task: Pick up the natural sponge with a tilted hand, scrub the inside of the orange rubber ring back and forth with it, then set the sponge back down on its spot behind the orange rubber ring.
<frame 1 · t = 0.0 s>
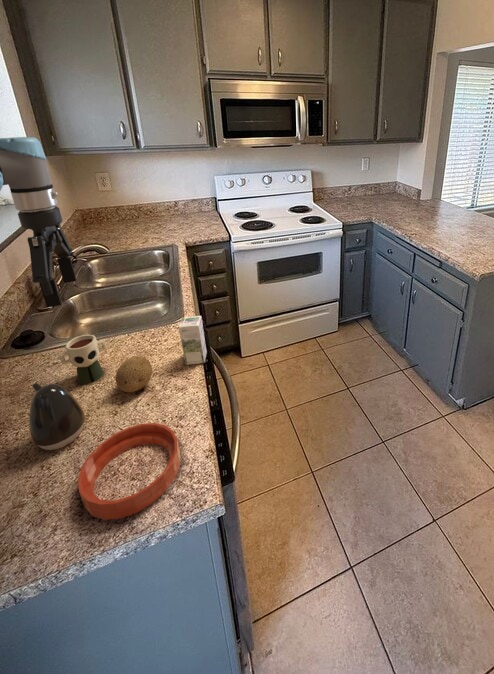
hand: (63, 292, 87), 31 cm above the counter, tool pointing down, fingers open, 13 cm apart
natural sponge: (137, 390, 99), on the counter
orange rubber ring: (135, 476, 75), on the counter
syrup box: (196, 361, 111), on the counter
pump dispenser: (63, 439, 85), on the counter
character mug: (91, 379, 104), on the counter
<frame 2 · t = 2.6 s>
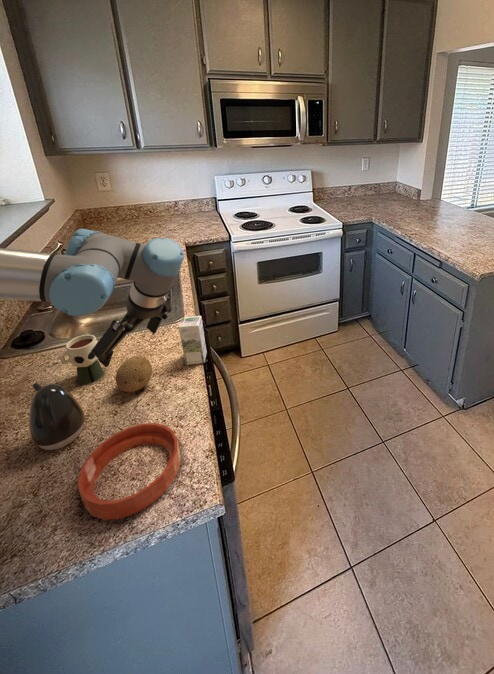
hand: (128, 345, 90), 18 cm above the counter, tool tilted 35°, fingers open, 13 cm apart
nothing on the counter moved.
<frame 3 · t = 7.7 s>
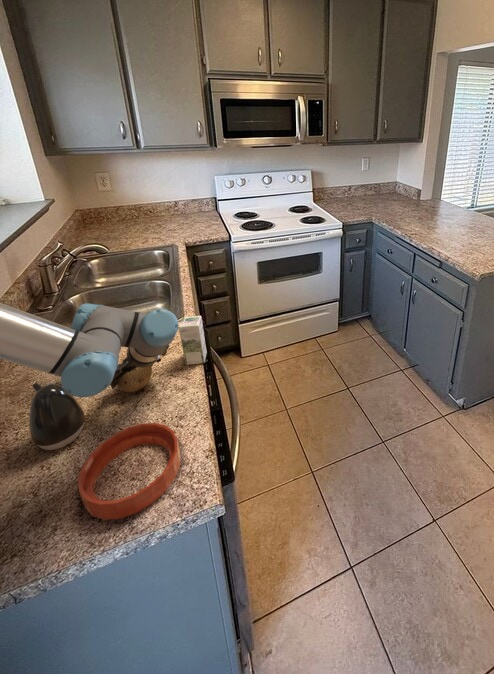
hand: (129, 374, 100), 4 cm above the counter, tool tilted 45°, fingers closed on natural sponge, 9 cm apart
natural sponge: (137, 390, 99), on the counter, touching gripper
everything else where it was.
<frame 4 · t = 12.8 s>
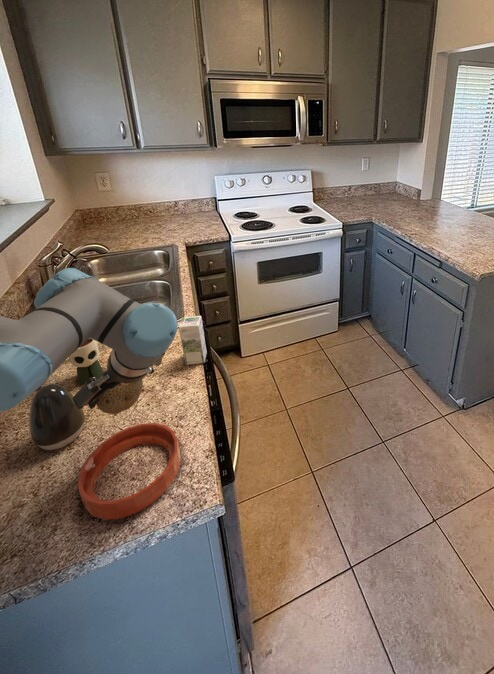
hand: (114, 389, 78), 16 cm above the counter, tool tilted 45°, fingers closed on natural sponge, 9 cm apart
natural sponge: (124, 410, 77), point 12 cm above the counter, touching gripper
everything else where it was.
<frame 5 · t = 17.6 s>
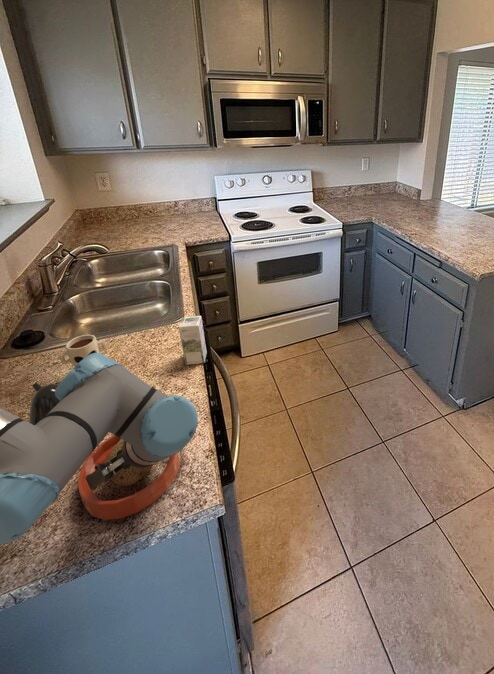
hand: (127, 457, 75), 4 cm above the counter, tool tilted 45°, fingers closed on natural sponge, 9 cm apart
natural sponge: (133, 471, 75), point 1 cm above the counter, touching orange rubber ring, gripper
everything else where it was.
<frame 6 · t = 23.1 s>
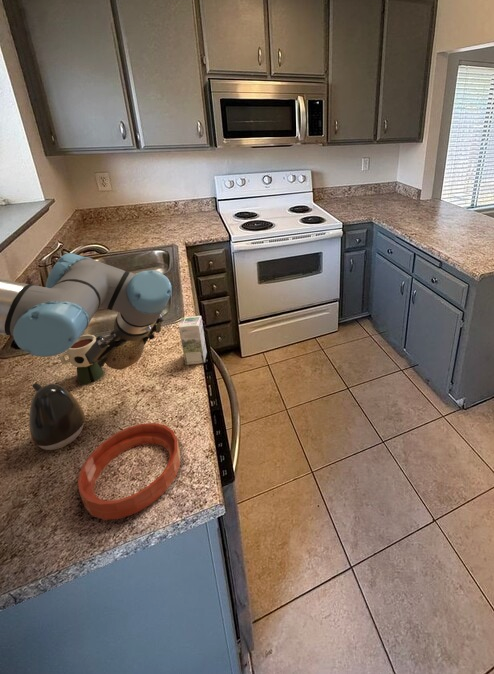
hand: (120, 352, 90), 16 cm above the counter, tool tilted 45°, fingers closed on natural sponge, 9 cm apart
natural sponge: (126, 366, 90), point 12 cm above the counter, touching gripper
everything else where it was.
when the fingers open (3 cm above the counter, at t = 27.9 s): natural sponge stays where it is, on the counter.
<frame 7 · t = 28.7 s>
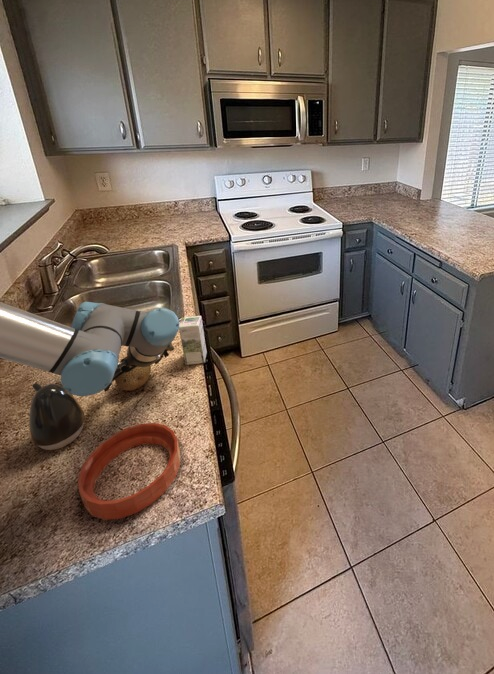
hand: (130, 372, 99), 5 cm above the counter, tool tilted 45°, fingers open, 13 cm apart
natural sponge: (136, 389, 100), on the counter
everything else where it was.
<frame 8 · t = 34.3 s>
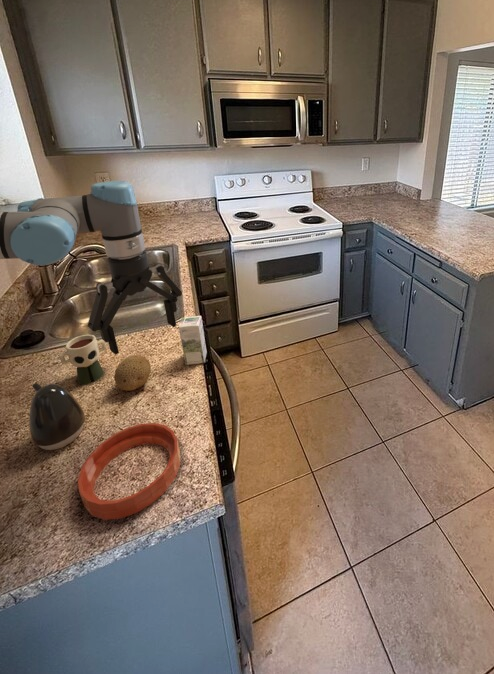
hand: (145, 337, 84), 23 cm above the counter, tool pointing down, fingers open, 13 cm apart
nothing on the counter moved.
at the end: natural sponge inside the target area on the counter beside the orange rubber ring (0.9 cm from its centre), on the counter; natural sponge tilted 0°; the gripper is holding nothing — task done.
